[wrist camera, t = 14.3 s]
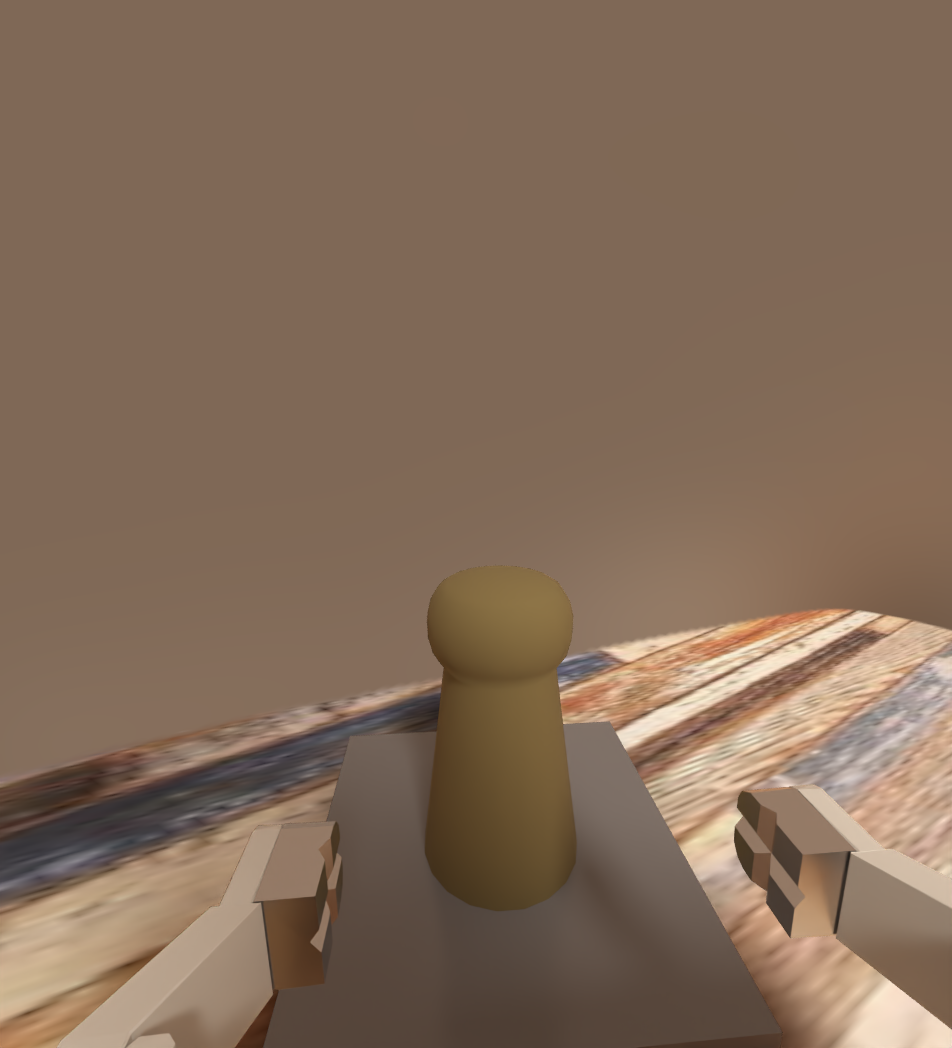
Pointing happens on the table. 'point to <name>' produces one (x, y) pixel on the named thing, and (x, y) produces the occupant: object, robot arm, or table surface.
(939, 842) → the table surface
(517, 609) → the cork
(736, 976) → the coaster
